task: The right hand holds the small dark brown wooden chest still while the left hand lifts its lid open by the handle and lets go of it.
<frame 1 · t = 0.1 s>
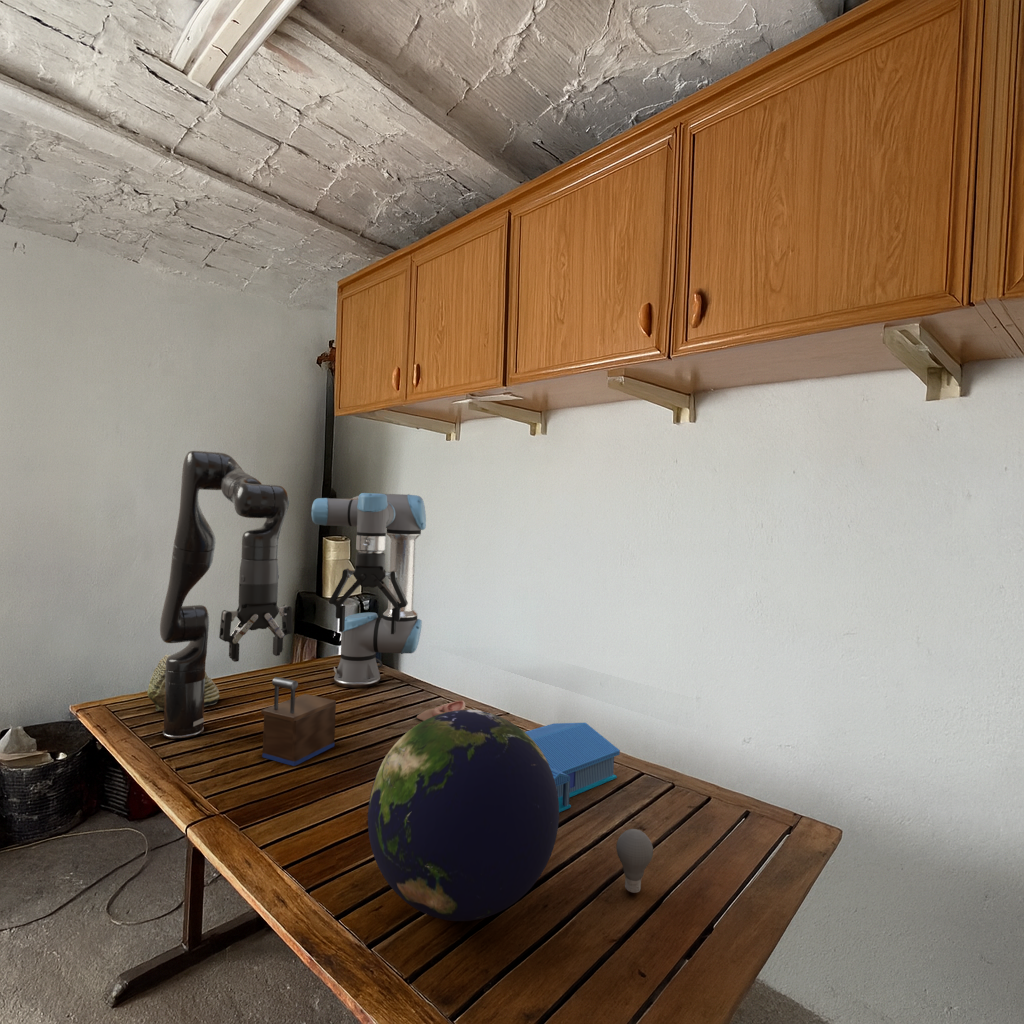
left hand: (256, 657, 132), 29 cm above the table, tool pointing down, fingers open, 8 cm apart
right hand: (367, 632, 167), 28 cm above the table, tool pointing down, fingers open, 13 cm apart
lid: (300, 691, 156), point 15 cm above the table, hinge at 0.0°
globe: (460, 903, 101), on the table
anatomical model: (441, 717, 185), on the table
fossil: (183, 706, 185), on the table
model building: (530, 787, 143), on the table
chest: (299, 751, 156), on the table
light bulb: (632, 891, 106), on the table
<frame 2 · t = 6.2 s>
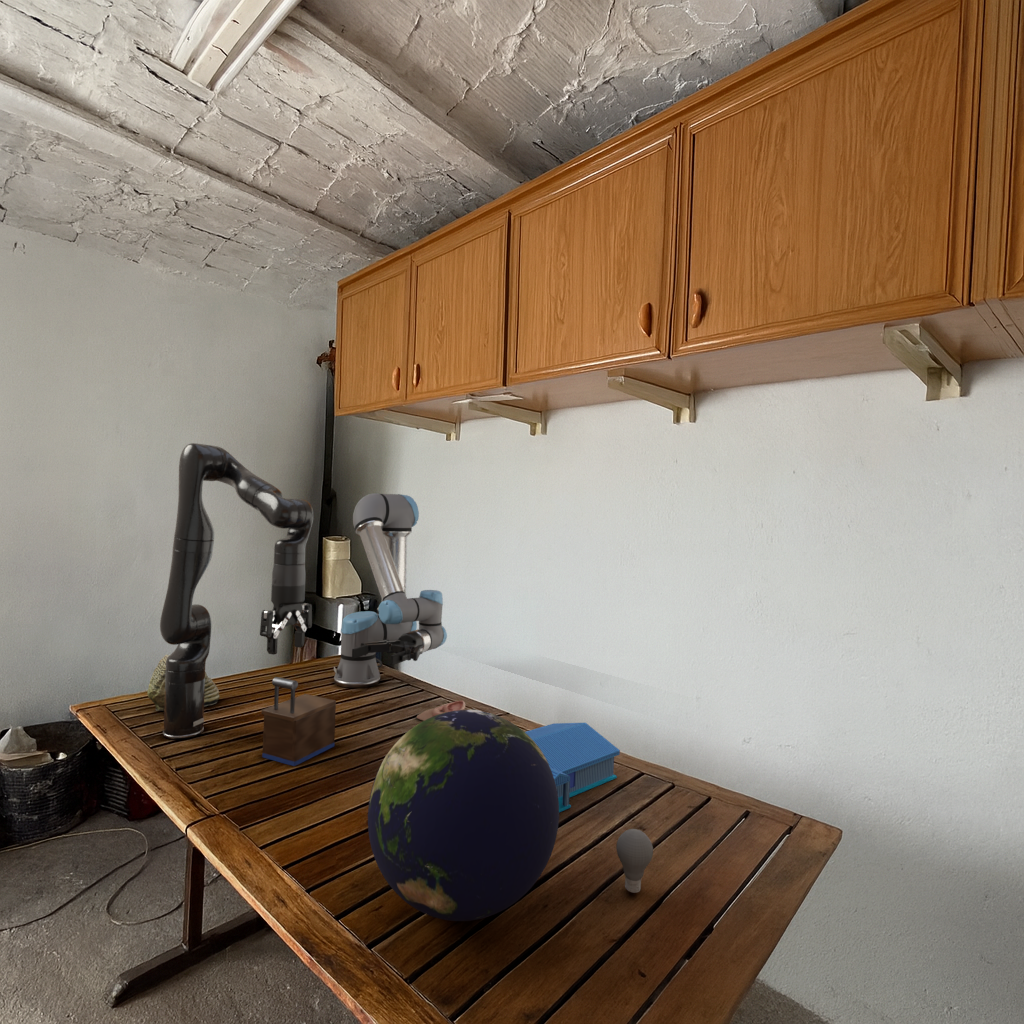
left hand: (286, 650, 151), 26 cm above the table, tool pointing down, fingers open, 8 cm apart
right hand: (371, 657, 182), 18 cm above the table, tool horizontal, fingers open, 13 cm apart
nothing on the table moved.
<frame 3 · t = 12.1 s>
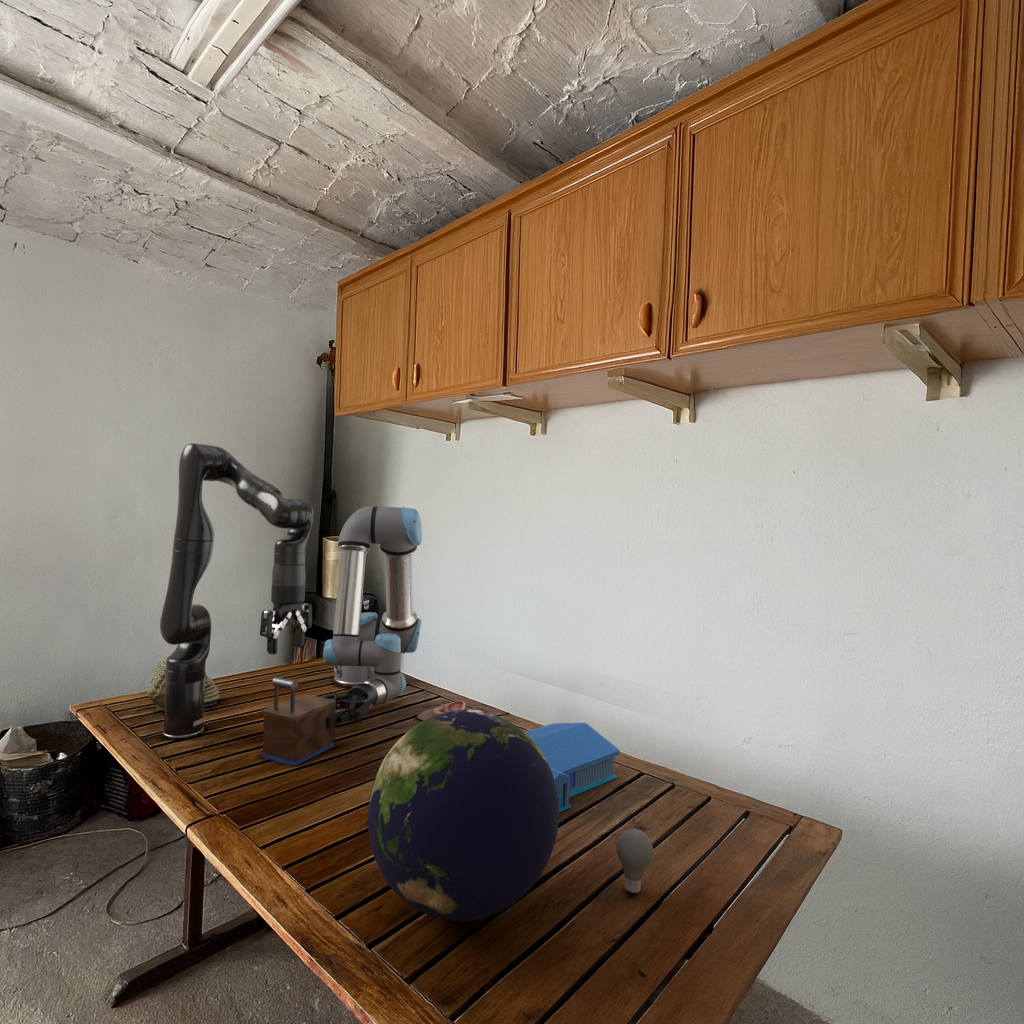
left hand: (286, 650, 151), 26 cm above the table, tool pointing down, fingers open, 8 cm apart
right hand: (311, 719, 160), 7 cm above the table, tool horizontal, fingers closed on chest, 10 cm apart
chest: (299, 751, 156), on the table, touching right hand
everything else where it was.
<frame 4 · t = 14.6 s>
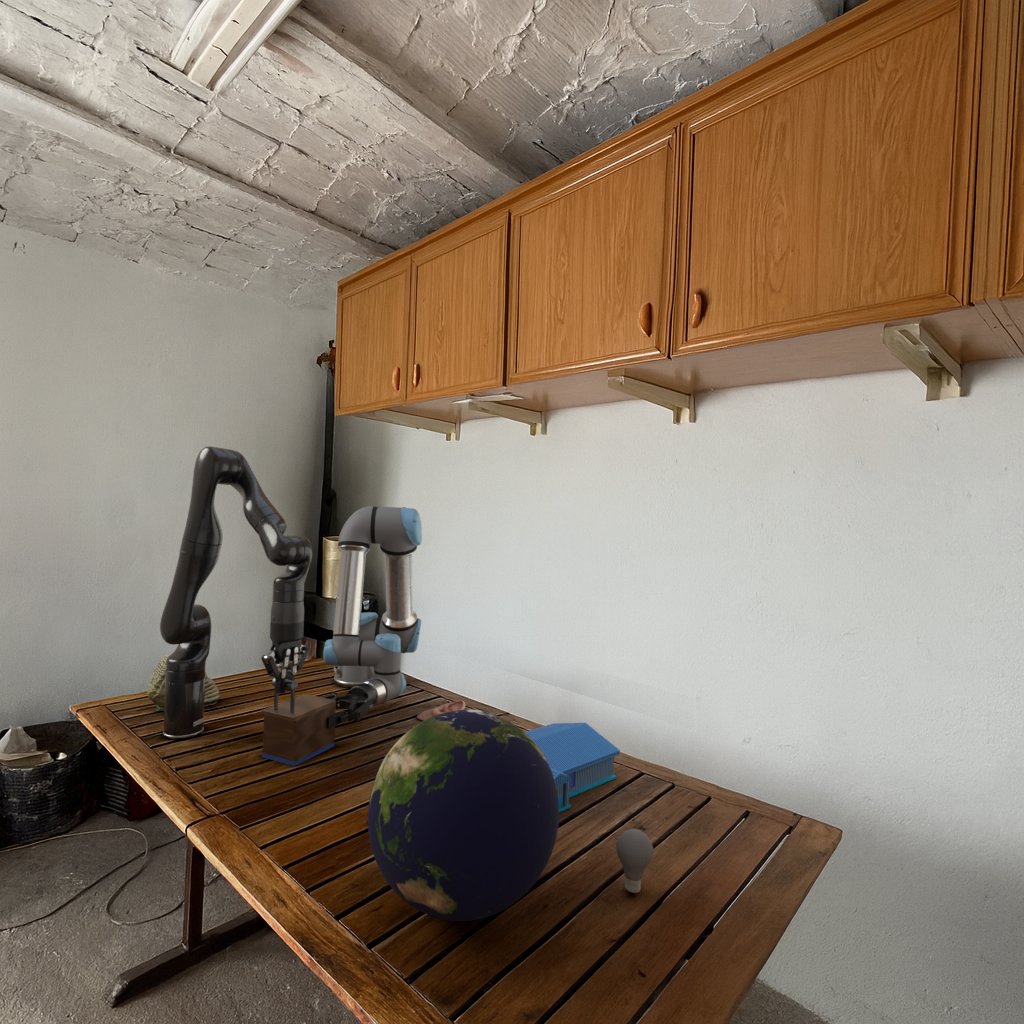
left hand: (284, 691, 151), 16 cm above the table, tool pointing down, fingers closed on lid, 2 cm apart
right hand: (311, 719, 160), 7 cm above the table, tool horizontal, fingers closed on chest, 10 cm apart
lid: (300, 691, 156), point 15 cm above the table, hinge at -0.1°, touching left hand
chest: (299, 751, 156), on the table, touching right hand
everything else where it was.
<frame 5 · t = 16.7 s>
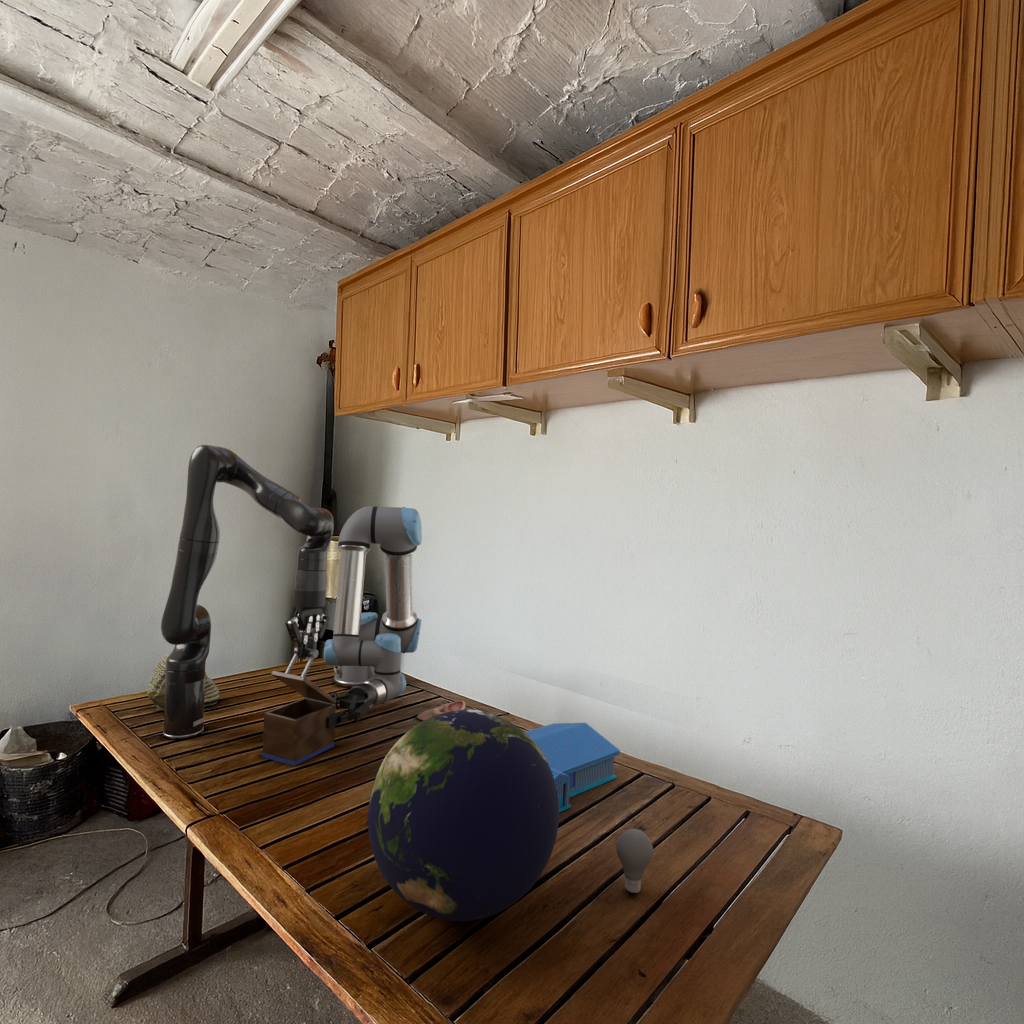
left hand: (305, 657, 157), 23 cm above the table, tool pointing down, fingers closed on lid, 2 cm apart
right hand: (311, 718, 160), 7 cm above the table, tool horizontal, fingers closed on chest, 10 cm apart
lid: (311, 673, 159), point 19 cm above the table, hinge at 36.6°, touching left hand
chest: (299, 751, 157), on the table, touching right hand
everything else where it was.
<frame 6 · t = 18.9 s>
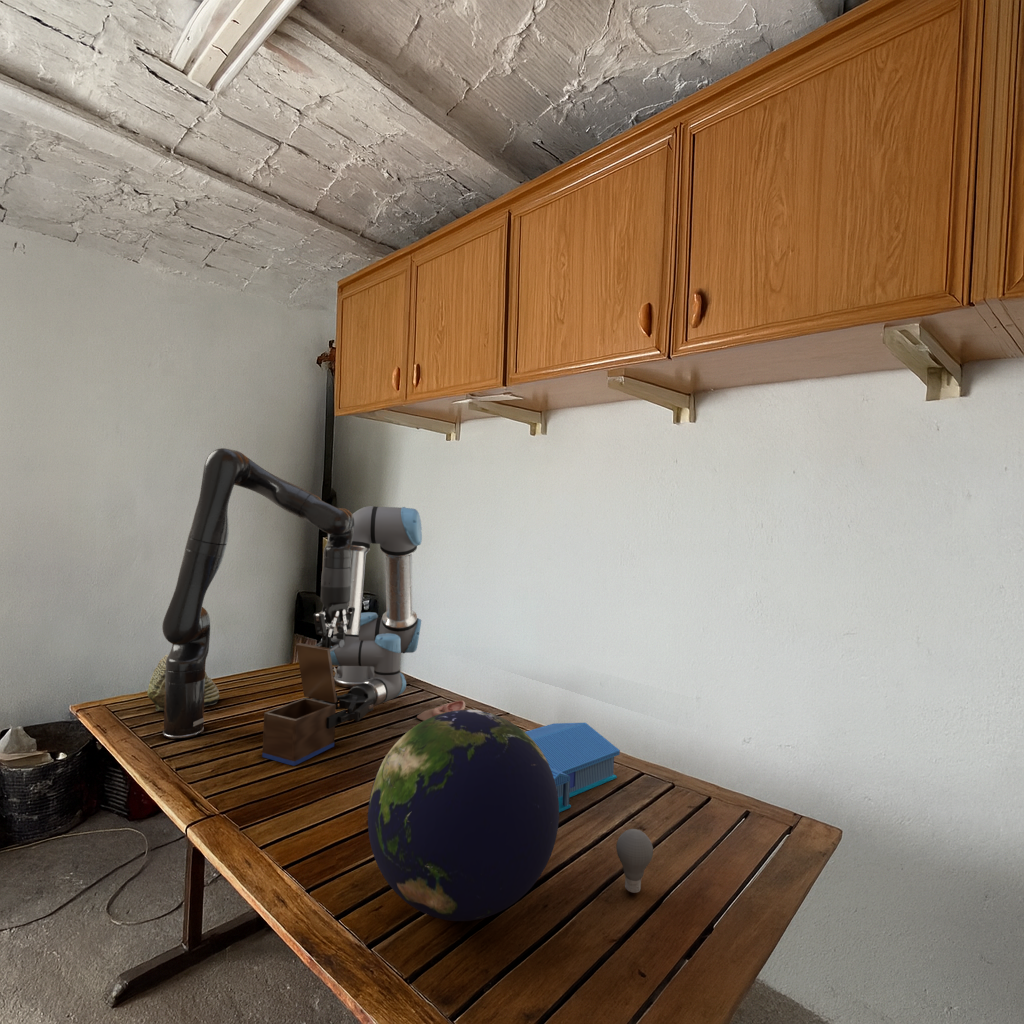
left hand: (333, 648, 166), 23 cm above the table, tool pointing down, fingers open, 4 cm apart
right hand: (311, 719, 160), 7 cm above the table, tool horizontal, fingers closed on chest, 10 cm apart
lid: (326, 665, 164), point 19 cm above the table, hinge at 75.8°
chest: (299, 751, 157), on the table, touching right hand
everything else where it was.
when the right hand's fingers open (7 cm above the table, at t = 22.6 s): chest stays where it is, on the table.
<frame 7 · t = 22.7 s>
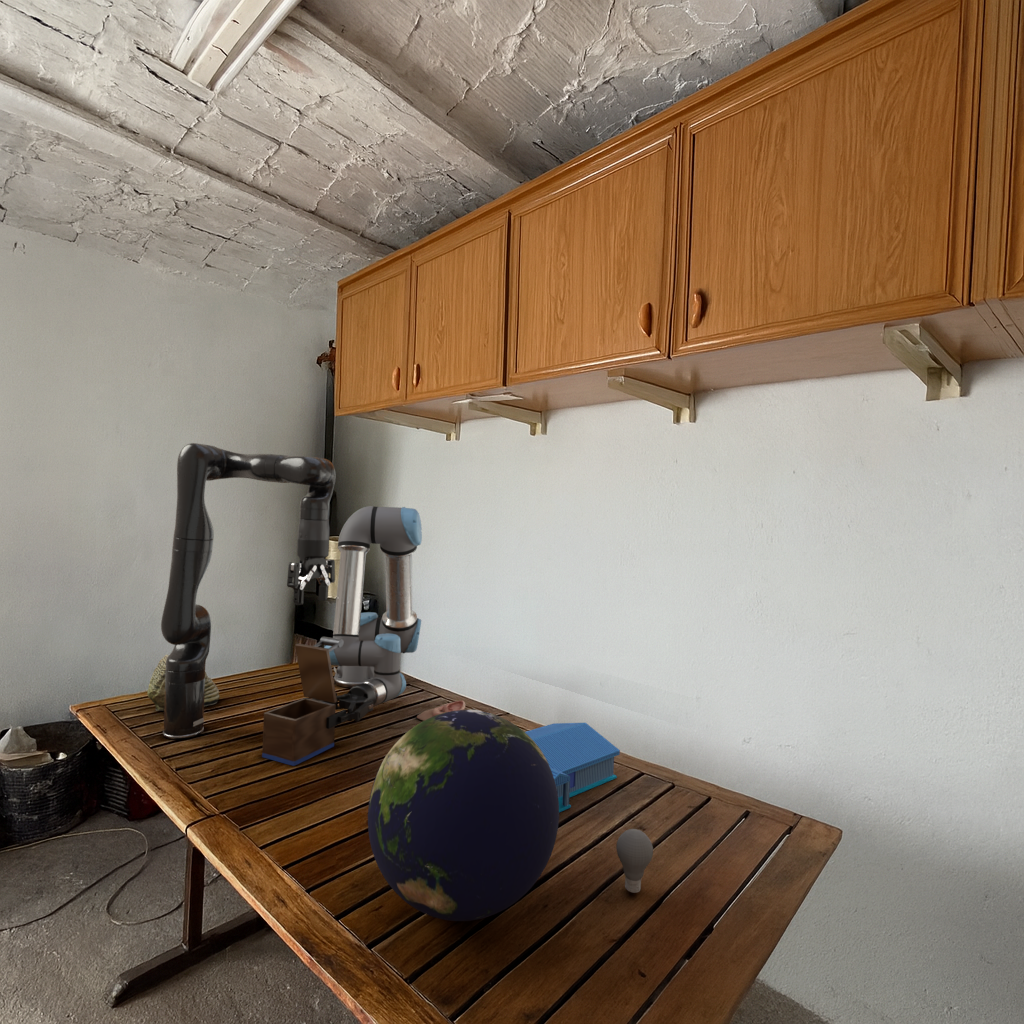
left hand: (311, 602, 158), 37 cm above the table, tool pointing down, fingers open, 8 cm apart
right hand: (310, 719, 160), 7 cm above the table, tool horizontal, fingers open, 10 cm apart
lid: (326, 665, 164), point 19 cm above the table, hinge at 74.6°
chest: (299, 751, 156), on the table
everything else where it was.
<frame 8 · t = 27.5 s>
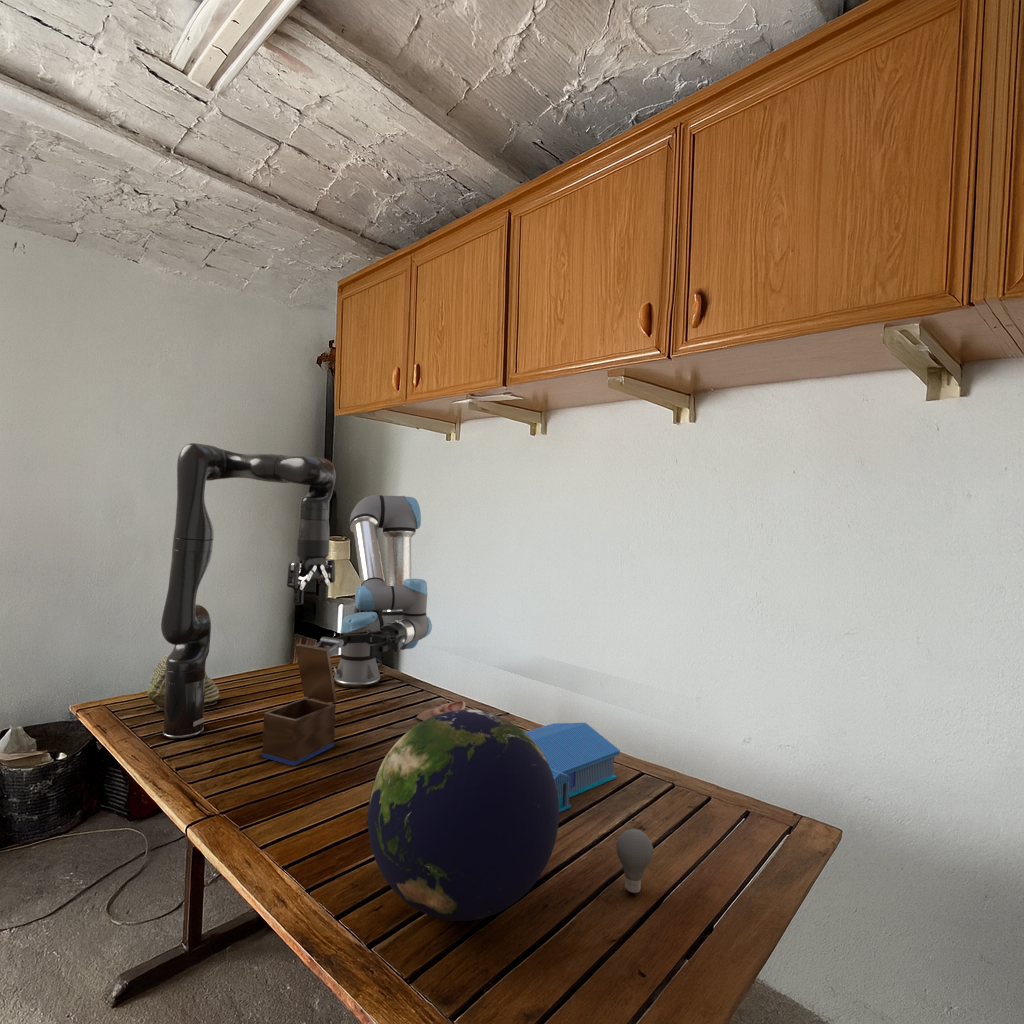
left hand: (311, 602, 158), 37 cm above the table, tool pointing down, fingers open, 8 cm apart
right hand: (350, 647, 173), 22 cm above the table, tool horizontal, fingers open, 13 cm apart
nothing on the table moved.
at the end: lid at +75° (first picture: +0°); the left hand is holding nothing; the right hand is holding nothing; chest tilted 0°; chest never tilted more than 1° during the clip; chest moved 0.1 cm from its start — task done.
